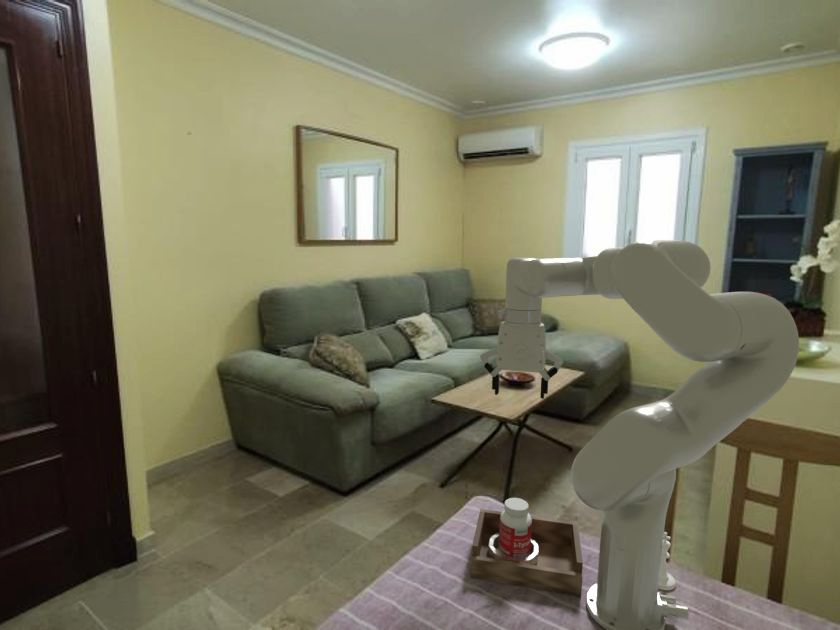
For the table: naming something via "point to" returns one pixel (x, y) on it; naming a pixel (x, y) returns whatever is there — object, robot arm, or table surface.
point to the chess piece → (665, 578)
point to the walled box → (555, 554)
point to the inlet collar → (528, 560)
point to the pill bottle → (515, 529)
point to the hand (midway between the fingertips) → (519, 394)
